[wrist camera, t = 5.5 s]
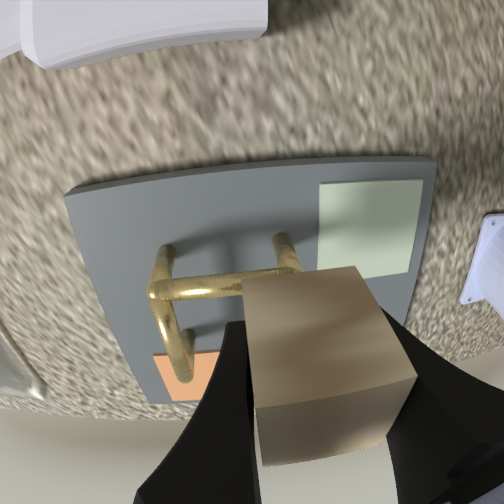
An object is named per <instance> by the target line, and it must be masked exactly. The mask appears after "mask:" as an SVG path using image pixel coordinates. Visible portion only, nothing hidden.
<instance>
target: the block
mask: <svg viewBox="0 0 504 504" xmlns="http://www.w3.org/2000/svg"><path fill="white" fill-rule="evenodd" d="M241 285H242V294H243V303H244V313H245V322H246V331H247V340H248V349H249V358H250V367H251V376H252V385H253V393H254V402H255V410H256V418H257V426H258V434H259V441H260V449H261V457H262V464H263V467H270V466H278V465H285V464H291V463H298V462H304V461H310V460H316V459H321V458H326V457H331V456H335V455H340V454H344V453H349V452H352V451H356V450H361V449H365V448H368V447H372V446H376V445H379V444H381V443H382V441H383V440H384V438H385V436H386V435H387V433H388V431H389V430H390V428H391V426H392V424H393V423H394V421H395V419H396V417H397V415H398V414H399V412H400V410H401V408H402V406H403V404H404V402H405V400H406V399H407V397H408V395H409V393H410V391H411V389H412V387H413V385H414V383H415V381H416V378H417V376H418V375H417V373H416V371H415V369H414V368H413V366H412V364H411V362H410V360H409V358H408V356H407V354H406V353H405V351H404V349H403V347H402V345H401V343H400V342H399V340H398V338H397V336H396V334H395V333H394V331H393V329H392V327H391V325H390V324H389V322H388V320H387V318H386V317H385V315H384V313H383V311H382V310H381V308H380V306H379V304H378V303H377V301H376V299H375V298H374V296H373V294H372V293H371V291H370V289H369V288H368V286H367V284H366V283H365V281H364V279H363V278H362V276H361V274H360V273H359V271H358V269H357V268H356V266H347V267H339V268H331V269H323V270H314V271H306V272H297V273H289V274H280V275H271V276H262V277H253V278H243V279H241Z"/></svg>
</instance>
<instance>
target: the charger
mask: <svg viewBox="0 0 504 504" xmlns="http://www.w3.org/2000/svg"><path fill="white" fill-rule="evenodd" d="M267 24H268V0H0V59H2V58H4V57H6V56H8V55H10V54H13V53H15V52H17V51H19V50H21V49H22V51H23V53H24V55H25V56H27V57H28V58H29V59H31V60H32V61H33V62H35V63H36V64H37V65H39V66H40V67H41V68H43V69H45V70H55V69H76V68H80V67H83V66H86V65H90V64H94V63H97V62H101V61H105V60H109V59H113V58H117V57H122V56H126V55H131V54H135V53H140V52H146V51H151V50H156V49H162V48H168V47H175V46H182V45H190V44H198V43H207V42H218V41H231V40H248V39H258V38H259V37H260V36H261V35H262V34H263V33H264V32H265V31H266V30H267Z"/></svg>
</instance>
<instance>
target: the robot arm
mask: <svg viewBox="0 0 504 504" xmlns="http://www.w3.org/2000/svg"><path fill="white" fill-rule="evenodd" d="M483 299H487V301H488V302H489V303H490V304H491V305H492V306H493V308H494V309H495V310H496V311H497V312H498V314H499V315H500V316H501V317H502V319H503V320H504V213H501V214H488V215H486V216H485V217H484V219H483V223H482V227H481V231H480V235H479V238H478V242H477V246H476V249H475V253H474V256H473V260H472V263H471V266H470V270H469V273H468V276H467V279H466V282H465V285H464V288H463V291H462V294H461V296H460V302H461V304H468V303H471V302H475V301H479V300H483ZM380 308H381V310H382V311H383V313H384V315H385V317H386V318H387V320H388V322H389V324H390V325H391V327H392V329H393V331H394V333H395V334H396V336H397V338H398V340H399V342H400V343H401V345H402V347H403V349H404V351H405V353H406V354H407V356H408V358H409V360H410V362H411V364H412V366H413V368H414V369H415V371H416V373H417V375H418V376H417V378H416V381H415V383H414V385H413V387H412V389H411V391H410V393H409V395H408V397H407V399H406V400H405V402H404V404H403V406H402V408H401V410H400V412H399V414H398V415H397V417H396V419H395V421H394V423H393V424H392V426H391V428H390V430H389V431H388V433H387V435H386V438H387V442H388V446H389V451H390V455H391V460H392V464H393V469H394V475H395V481H396V488H397V496H398V504H504V391H503V390H501V389H498V388H496V387H494V386H491V385H489V384H487V383H485V382H483V381H481V380H479V379H477V378H475V377H473V376H471V375H469V374H468V373H466V372H464V371H462V370H461V369H459V368H458V367H456V366H454V365H453V364H451V363H450V362H448V361H447V360H445V359H444V358H442V357H441V356H439V355H438V354H437V353H435V352H434V351H433V350H431V349H430V348H429V347H427V346H426V345H425V344H424V343H422V342H421V341H420V340H419V339H417V338H416V337H415V336H414V335H413V334H411V333H410V332H409V331H408V330H407V329H405V328H404V327H403V326H402V325H401V324H400V323H399V322H397V321H396V320H395V319H394V318H393V317H392V316H391V315H390V314H388V313H387V312H386V311H385V310H384V309H383V308H382V307H380ZM133 504H262V503H261V496H260V487H259V479H258V471H257V462H256V453H255V441H254V393H253V385H252V376H251V367H250V358H249V349H248V340H247V331H246V322H245V320H242V321H232V322H228V323H227V324H226V325H225V332H224V337H223V342H222V345H221V349H220V353H219V356H218V359H217V362H216V364H215V367H214V370H213V373H212V375H211V378H210V380H209V383H208V385H207V387H206V390H205V392H204V394H203V396H202V398H201V401H200V403H199V405H198V407H197V408H196V410H195V412H194V414H193V416H192V418H191V419H190V421H189V423H188V424H187V426H186V428H185V429H184V431H183V433H182V434H181V436H180V437H179V439H178V440H177V442H176V443H175V445H174V446H173V447H172V449H171V450H170V451H169V453H168V454H167V456H166V457H165V458H164V459H163V461H162V462H161V463H160V465H159V466H158V467H157V469H155V471H154V472H153V473H152V474H151V475H150V476H149V477H148V479H147V480H146V481H145V482H144V483H143V484H142V485H141V486H140V487H139V488H138V490H137V492H136V495H135V498H134V502H133Z"/></svg>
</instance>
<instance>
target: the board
mask: <svg viewBox="0 0 504 504" xmlns="http://www.w3.org/2000/svg"><path fill="white" fill-rule="evenodd" d="M436 170H437V162H436V161H434V160H432V159H430V158H428V157H427V156H343V157H318V158H299V159H284V160H270V161H258V162H247V163H236V164H226V165H217V166H208V167H200V168H192V169H184V170H177V171H170V172H163V173H156V174H149V175H143V176H137V177H131V178H125V179H119V180H113V181H108V182H103V183H97V184H92V185H87V186H82V187H77V188H72V189H71V190H70V191H69V192H68V193H67V194H66V195H65V196H63V197H64V201H65V205H66V208H67V211H68V215H69V218H70V221H71V224H72V228H73V231H74V234H75V237H76V240H77V243H78V246H79V249H80V252H81V254H82V257H83V260H84V263H85V265H86V268H87V271H88V273H89V276H90V279H91V281H92V284H93V286H94V289H95V291H96V294H97V296H98V299H99V301H100V304H101V306H102V308H103V311H104V313H105V315H106V318H107V320H108V322H109V324H110V327H111V329H112V331H113V333H114V335H115V338H116V340H117V342H118V344H119V346H120V348H121V350H122V352H123V354H124V356H125V358H126V360H127V362H128V364H129V366H130V368H131V370H132V372H133V374H134V376H135V378H136V380H137V382H138V383H139V385H140V387H141V389H142V391H143V393H144V394H145V396H146V398H147V400H148V402H149V403H150V404H175V403H200V401H201V398H202V396H203V394H204V392H205V390H206V387H207V385H208V383H209V380H210V378H211V375H212V373H213V370H214V367H215V364H216V362H217V359H218V356H219V353H220V349H221V345H222V342H223V337H224V332H225V325H226V324H227V323H228V322H232V321H242V320H245V313H244V303H243V295H236V296H226V297H216V298H206V299H195V300H184V301H172V304H173V308H174V311H175V315H176V318H177V322H178V325H179V328H180V332H181V331H182V330H183V329H192V330H193V331H194V332H195V333H196V341H195V360H194V377H193V380H192V381H191V382H190V383H187V384H184V383H181V382H179V381H178V379H177V377H176V375H175V372H174V370H173V367H172V365H171V362H170V359H169V357H168V354H167V351H166V349H165V346H164V343H163V341H162V338H161V335H160V332H159V329H158V326H157V324H156V321H155V318H154V315H153V312H152V309H151V306H150V303H149V300H148V297H147V293H146V289H147V286H148V282H149V279H150V275H151V272H152V269H153V265H154V262H155V259H156V255H157V252H158V249H159V248H160V247H161V246H162V245H171V246H172V247H174V248H175V250H176V259H175V263H174V268H173V273H172V278H171V279H173V278H183V277H194V276H204V275H213V274H223V273H233V272H242V271H252V270H261V269H270V268H279V266H278V263H277V259H276V256H275V252H274V249H273V245H272V238H273V237H274V235H276V234H277V233H280V232H284V233H287V234H288V235H289V236H290V238H291V241H292V243H293V246H294V248H295V251H296V253H297V256H298V259H299V261H300V264H301V266H302V269H303V272H306V271H314V270H323V269H331V268H339V267H347V266H356V268H357V269H358V271H359V273H360V274H361V276H362V278H363V279H364V281H365V283H366V284H367V286H368V288H369V289H370V291H371V293H372V294H373V296H374V298H375V299H376V301H377V303H378V304H379V306H380V307H382V308H383V309H384V310H385V311H386V312H387V313H388V314H390V315H391V316H392V317H393V318H394V319H395V320H396V321H397V322H399V323H400V324H401V325H402V326H403V325H404V322H405V319H406V315H407V312H408V308H409V305H410V301H411V298H412V294H413V290H414V286H415V283H416V279H417V274H418V270H419V266H420V262H421V257H422V253H423V248H424V243H425V238H426V233H427V228H428V223H429V217H430V211H431V205H432V199H433V192H434V185H435V178H436Z"/></svg>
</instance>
